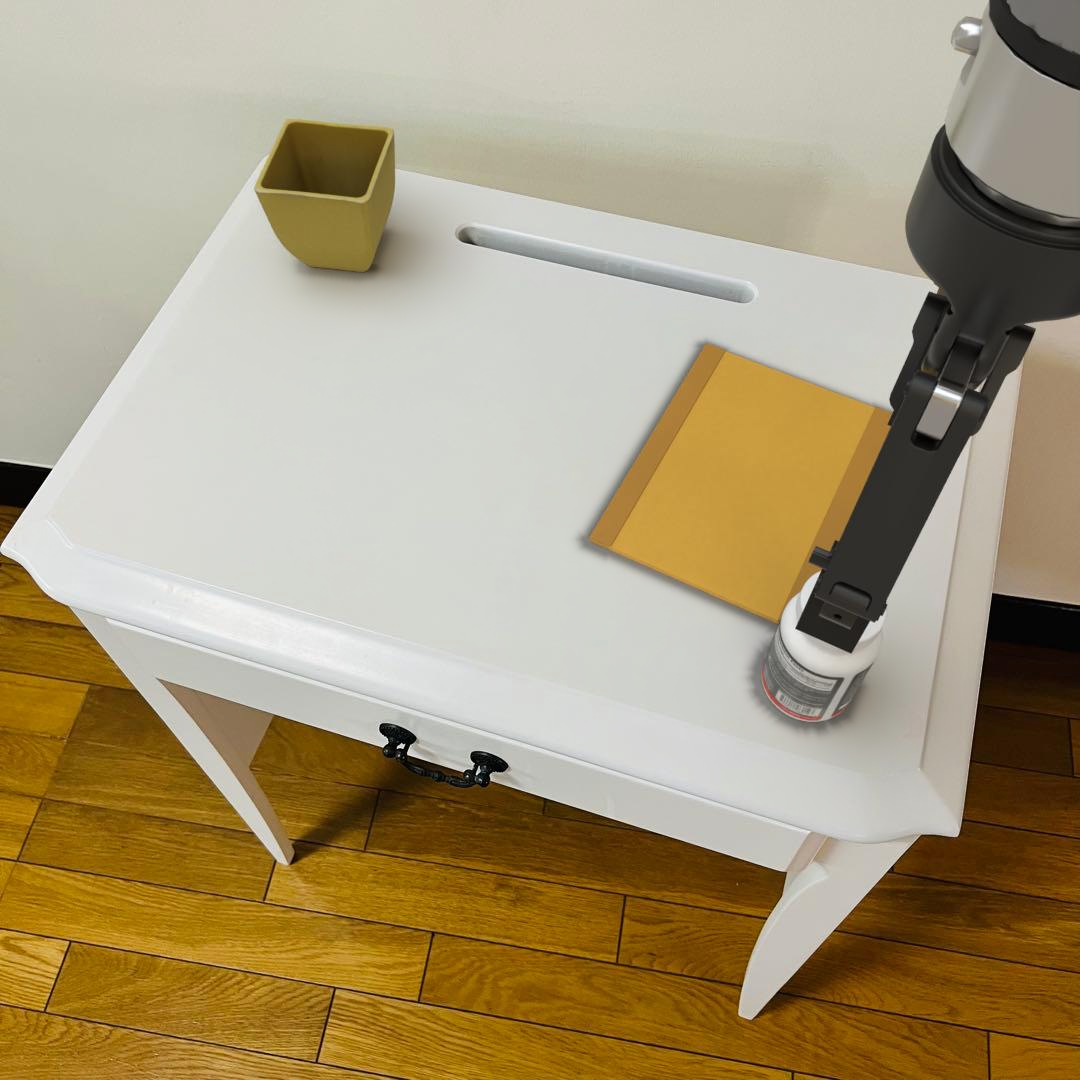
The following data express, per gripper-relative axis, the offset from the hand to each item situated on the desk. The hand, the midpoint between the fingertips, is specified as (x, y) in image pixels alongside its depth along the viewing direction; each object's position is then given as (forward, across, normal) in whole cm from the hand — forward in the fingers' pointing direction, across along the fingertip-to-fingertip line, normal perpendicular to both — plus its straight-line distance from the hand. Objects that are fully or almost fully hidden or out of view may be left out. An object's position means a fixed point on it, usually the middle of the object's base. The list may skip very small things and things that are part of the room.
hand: (872, 526), depth 51 cm
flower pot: (+17, -19, -46) cm, 53 cm away
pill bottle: (+17, 0, 0) cm, 17 cm away
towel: (+17, -13, -8) cm, 23 cm away
